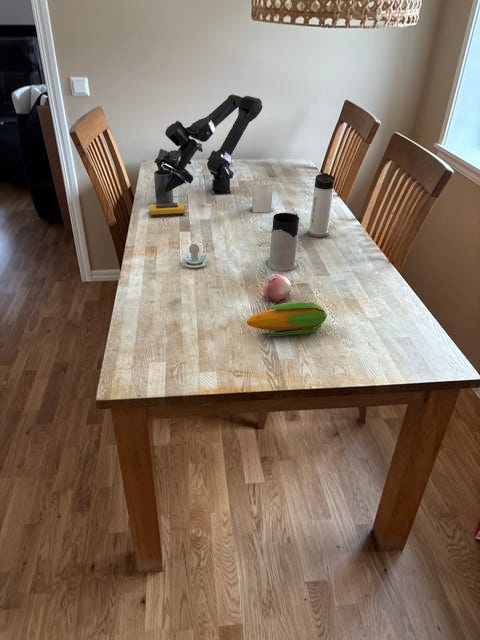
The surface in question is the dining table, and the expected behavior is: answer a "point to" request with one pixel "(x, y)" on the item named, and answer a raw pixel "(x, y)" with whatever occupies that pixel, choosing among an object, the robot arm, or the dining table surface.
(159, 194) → the tumbler
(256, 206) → the beige rectangular block
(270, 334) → the corn
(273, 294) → the onion
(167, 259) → the dining table surface
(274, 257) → the glass holder
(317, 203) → the travel mug
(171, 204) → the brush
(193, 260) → the pacifier
